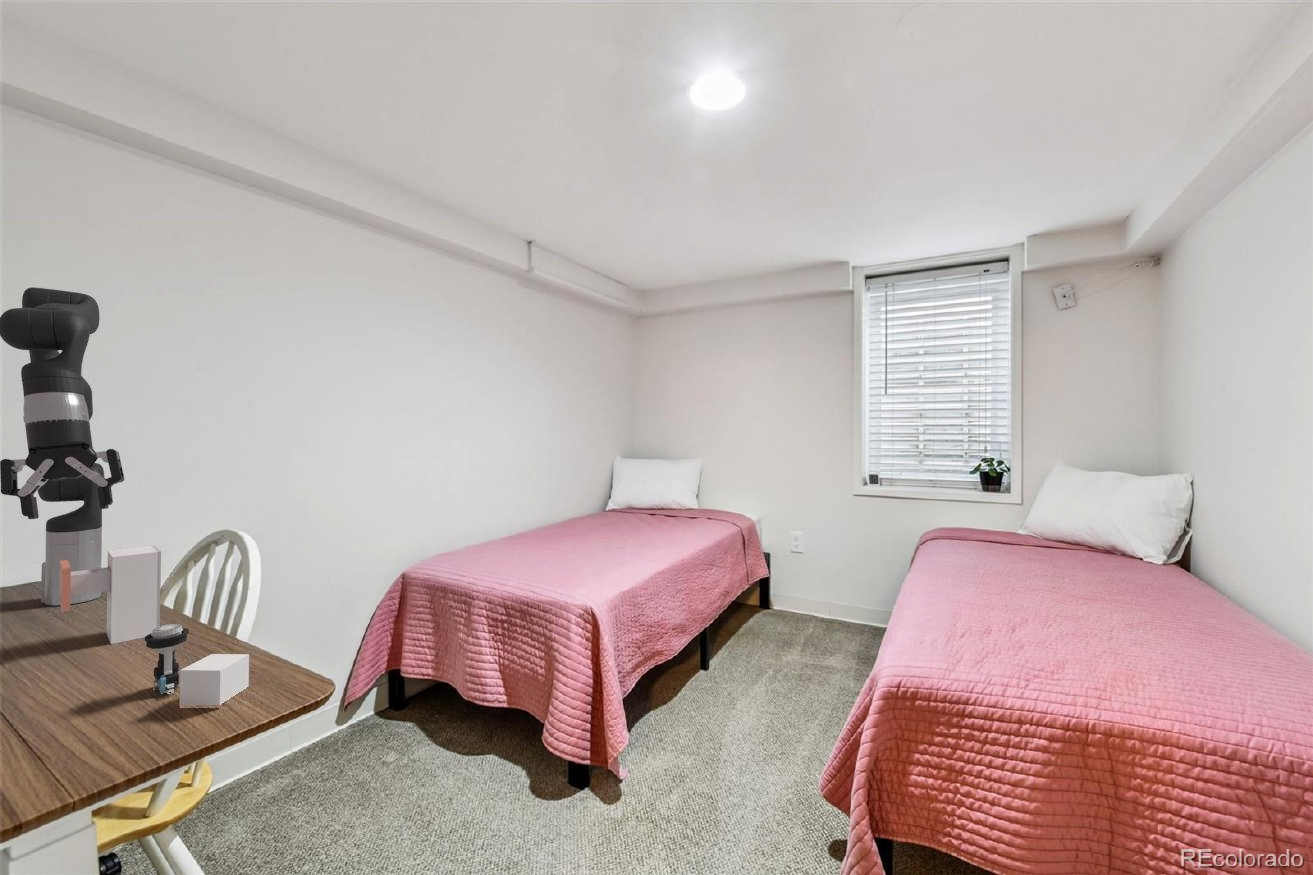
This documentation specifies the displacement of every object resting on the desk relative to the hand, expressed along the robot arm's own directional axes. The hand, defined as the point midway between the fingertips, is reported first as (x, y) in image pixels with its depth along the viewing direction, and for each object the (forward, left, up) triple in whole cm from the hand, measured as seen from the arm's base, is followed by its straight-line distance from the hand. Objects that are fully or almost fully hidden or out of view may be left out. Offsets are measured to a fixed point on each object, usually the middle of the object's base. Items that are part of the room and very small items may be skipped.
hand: (69, 513), depth 93 cm
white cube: (+33, -7, -28) cm, 44 cm away
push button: (+23, -5, -28) cm, 36 cm away
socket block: (-6, +17, -27) cm, 32 cm away
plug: (-10, +12, -19) cm, 24 cm away
